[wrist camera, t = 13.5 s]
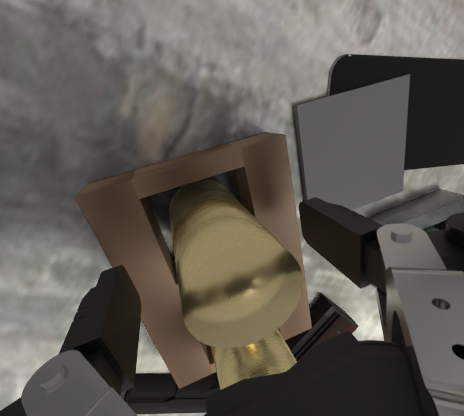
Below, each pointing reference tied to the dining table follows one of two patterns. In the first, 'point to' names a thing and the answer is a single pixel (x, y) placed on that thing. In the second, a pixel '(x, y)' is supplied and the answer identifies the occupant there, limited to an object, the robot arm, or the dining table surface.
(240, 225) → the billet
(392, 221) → the button housing
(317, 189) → the mat
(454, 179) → the dining table surface
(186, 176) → the brown wooden rectangular frame
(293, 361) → the billet seated
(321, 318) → the handgun
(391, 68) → the smartphone
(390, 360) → the robot arm
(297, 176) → the dining table surface
